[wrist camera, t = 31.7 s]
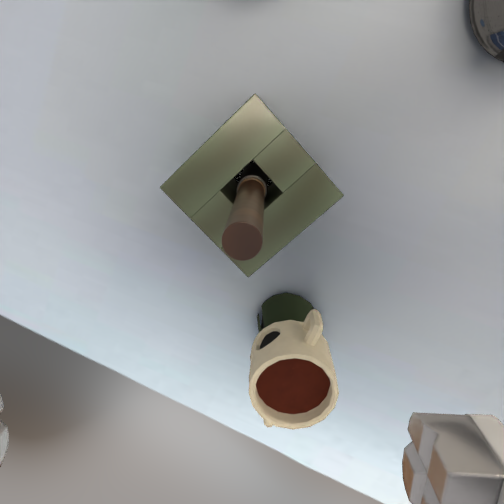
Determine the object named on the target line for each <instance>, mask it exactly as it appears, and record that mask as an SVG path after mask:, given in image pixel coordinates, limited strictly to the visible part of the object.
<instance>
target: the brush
mask: <svg viewBox="0 0 504 504" xmlns="http://www.w3.org/2000/svg"><path fill="white" fill-rule="evenodd" d="M266 194H267V175H266V174H265V173H264V172H263V170H262V169H261V168H260V167H259V166H258V165H257V164H256V163H250V164H248V165H247V166H246V167H245V168H244V170H243V172H242V175H241V177H240V180H239V182H238V185H237V195H236V198H235V201H234V204H233V207H232V209H231V212H230V215H229V218H228V221H227V223H226V226H225V229H224V232H223V235H222V240H221V242H222V247H223V249H224V251H225V253H226V254H227V255H228V256H230V257H231V258H233V259H235V260H239V261H246V260H250V259H252V258H254V257H255V256H256V255H257V254H258V253H259V252H260V250H261V248H262V243H263V219H264V199H265V197H266Z"/></svg>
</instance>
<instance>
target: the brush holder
mask: <svg viewBox="0 0 504 504" xmlns="http://www.w3.org/2000/svg"><path fill="white" fill-rule="evenodd" d="M252 160H254V162H255V163H256V164H257V165H258V166H259V167H260V168H261V169H262V170H263V172H264V173H265V174H266V175H267V176H268V177H269V178H270V179H271V180H272V181H273V182H272V183H271V184H270V185H269V186H268V187H267V194H266V197H265V199H264V219H263V243H262V248H261V250H260V252H259V253H258V254H257V255H256V256H255V257H254V258H252V259H250V260H246V261H239V260H235V259H233V258H231V257H230V256H228V255H227V254H226V253H225V251H224V249H223V247H222V242H221V240H222V235H223V232H224V229H225V226H226V223H227V221H228V218H229V215H230V212H231V209H232V207H233V204H234V201H235V198H236V195H237V185H238V182H237V181H236V180H235V179H234V177H235V176H236V175H237V174H238V173H239V172H240V171H241V170H242V169H243V168H244V167H245V166H246V165H247V164H248V163H250V162H251V161H252ZM160 188H161V189H162V190H163V191H164V192H165V193H166V194H167V196H168V197H169V198H170V199H171V200H172V201H173V202H174V203H175V204H176V205H177V206H178V207H179V208H180V209H181V210H182V211H183V212H184V213H185V214H186V215H187V216H188V217H189V218H190V219H191V220H192V221H193V222H194V223H195V224H196V225H197V226H198V227H199V228H200V229H201V230H202V231H203V232H204V233H205V234H206V235H207V236H208V237H209V238H210V239H211V240H212V241H213V242H214V243H215V244H216V245H217V246H218V247H219V248H221V250H222V251H223V252H224V253H225V254H226V255H227V256H228V257H229V258H230V259H231V260H232V261H233V262H234V263H235V264H236V266H237V267H238V268H239V269H240V270H241V271H242V272H243V273H244V274H245V275H246V276H247V277H249V276H250V275H252V274H253V273H254V272H255V271H256V270H258V269H259V268H260V267H261V266H262V265H263V264H265V263H266V262H267V261H268V260H269V259H270V258H272V257H273V256H274V255H275V254H276V253H277V252H279V251H280V250H281V249H282V248H283V247H284V246H286V245H287V244H288V243H289V242H290V241H291V240H293V239H294V238H295V237H296V236H297V235H298V234H300V233H301V232H302V231H303V230H304V229H305V228H307V227H308V226H309V225H310V224H311V223H312V222H314V221H315V220H316V219H317V218H318V217H320V216H321V215H322V214H323V213H324V212H325V211H327V210H328V209H329V208H330V207H331V206H332V205H334V204H335V203H336V202H337V201H338V200H339V199H341V198H342V197H343V196H344V195H343V194H342V192H341V191H340V190H339V189H338V188H337V187H336V186H335V184H334V183H333V182H332V181H331V180H330V179H329V178H328V176H327V175H326V174H325V173H324V172H323V171H322V170H321V168H320V167H319V166H318V165H317V164H316V163H315V161H314V160H313V159H312V158H311V157H310V156H309V155H308V153H307V152H306V151H305V150H304V149H303V148H302V147H301V145H300V144H299V143H298V142H297V141H296V140H295V139H294V137H293V136H292V135H291V134H290V133H289V132H288V130H287V129H286V128H285V127H284V126H283V125H282V124H281V122H280V121H279V120H278V119H277V118H276V117H275V116H274V114H273V113H272V112H271V111H270V110H269V109H268V108H267V106H266V105H265V104H264V103H263V102H262V101H261V99H260V98H259V97H258V96H257V95H256V94H254V95H253V96H252V97H251V98H250V99H249V100H248V101H247V102H246V103H245V104H244V105H243V106H242V107H241V108H240V109H239V110H238V111H237V112H236V113H235V114H234V115H233V116H232V117H231V118H230V119H229V120H228V121H227V122H226V123H225V124H224V125H223V126H221V127H220V128H219V129H218V130H217V131H216V132H215V133H214V134H213V135H212V136H211V137H210V138H209V139H208V140H207V141H206V142H205V143H204V144H203V145H202V146H201V147H200V148H199V149H198V150H197V151H196V152H195V153H194V154H193V155H192V156H191V157H190V158H189V159H188V160H187V161H186V162H185V163H184V164H183V165H182V166H181V167H180V168H179V169H178V170H177V171H176V172H175V173H174V174H173V175H172V176H171V177H170V178H169V179H168V180H167V181H166V182H165V183H164V184H163V185H162V186H161V187H160Z"/></svg>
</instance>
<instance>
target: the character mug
mask: <svg viewBox="0 0 504 504" xmlns="http://www.w3.org/2000/svg"><path fill="white" fill-rule="evenodd" d="M257 320H258V329H259V333H258V335H257V336H256V338H255V340H254V342H253V345H252V350H251V356H250V359H251V365H250V374H249V395H250V399H251V402H252V405H253V407H254V408H255V410H256V411H257V412H258V413H259V415H260V416H261V417H262V418H263V419H264V424H265V425H266V426H267V427H272V426H273V425H275V426H277V427H282V428H288V429H299V428H306V427H310V426H312V425H314V424H316V423H318V422H320V421H322V420H324V419H325V418H326V417H327V416H328V415H329V413H330V412H331V411H332V410H333V409H334V408H335V405H336V401H337V398H338V394H339V391H338V385H337V379H336V373H335V370H334V366H333V362H332V358H331V354H330V350H329V346H328V343H327V341H326V340H325V338H324V337H323V335H322V334H321V333H322V331H323V322H322V318H321V314H320V313H319V312H318V310H316V309H314V308H313V307H312V305H311V303H309V302H308V301H306V300H305V299H303V298H302V297H300V296H298V295H293V294H289V293H283V294H279V295H275V296H272V297H271V298H269V299H268V300H267V301H266V302H264V303H263V304H262V324H261V325H260V320H259V314H258V315H257Z"/></svg>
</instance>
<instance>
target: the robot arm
mask: <svg viewBox="0 0 504 504" xmlns="http://www.w3.org/2000/svg"><path fill="white" fill-rule="evenodd" d="M3 409H4V405H3V400H2V396H1V393H0V413H1V412H2V410H3ZM408 432H409V434H410V436H411V439H412V442H411V443H410V444H408V445H407V446H406V447H405V448H404V454H403V461H402V469H403V481H404V485H405V490H406V493H407V496H408V499H409V501H410V502H411V503H412V504H504V426H503V424H502V423H501V422H500V421H499V419H498V418H496V417H495V416H493V415H482V414H465V415H455V414H435V413H414V412H413V414H412V416H411V418H410V421H409V426H408ZM8 440H9V435H8V428H7V426H6V425H5V424H4V423H3V421H2V420H1V419H0V467H1V465H2V463H3V460H4V458H5V455H6V452H7V450H8Z"/></svg>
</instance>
